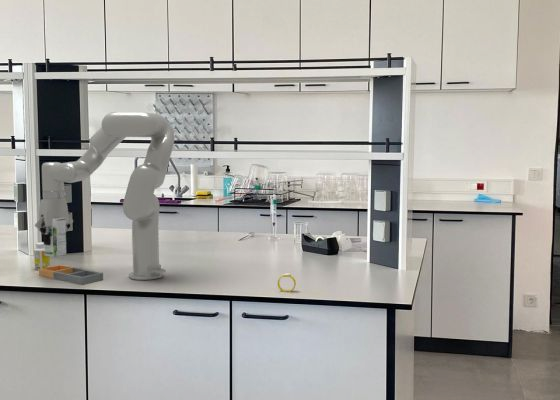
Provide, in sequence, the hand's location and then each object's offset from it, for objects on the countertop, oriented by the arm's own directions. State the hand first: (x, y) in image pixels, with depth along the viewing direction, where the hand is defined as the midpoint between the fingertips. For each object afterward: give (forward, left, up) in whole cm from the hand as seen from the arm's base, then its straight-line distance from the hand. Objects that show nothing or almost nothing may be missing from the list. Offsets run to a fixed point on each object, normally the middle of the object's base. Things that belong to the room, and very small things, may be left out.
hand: (55, 242), depth 232 cm
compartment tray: (-8, 0, -12) cm, 15 cm away
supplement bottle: (+14, -3, -12) cm, 19 cm away
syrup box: (0, 0, -5) cm, 5 cm away
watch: (-85, -29, -12) cm, 91 cm away
